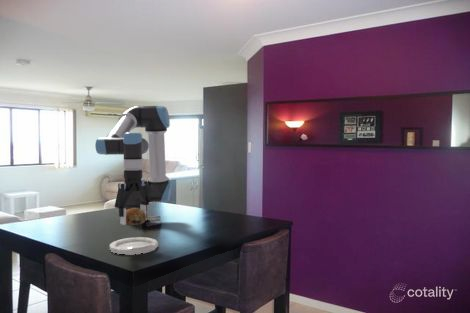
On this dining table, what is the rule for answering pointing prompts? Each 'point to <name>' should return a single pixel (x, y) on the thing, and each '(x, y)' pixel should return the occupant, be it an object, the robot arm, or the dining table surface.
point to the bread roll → (135, 216)
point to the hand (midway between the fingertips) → (133, 222)
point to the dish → (133, 245)
